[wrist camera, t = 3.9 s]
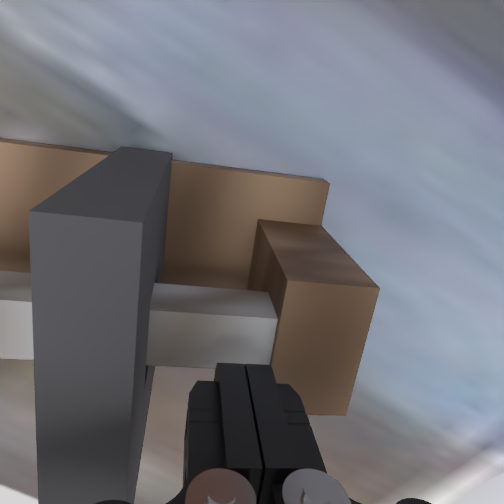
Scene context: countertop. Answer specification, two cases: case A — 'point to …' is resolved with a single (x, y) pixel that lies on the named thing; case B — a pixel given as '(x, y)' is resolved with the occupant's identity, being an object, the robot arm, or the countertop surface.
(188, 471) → the robot arm
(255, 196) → the rod stand
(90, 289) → the dark grey square plate
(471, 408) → the countertop surface
